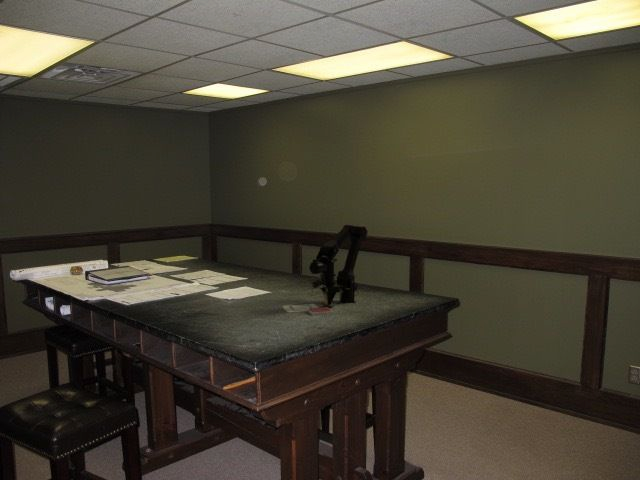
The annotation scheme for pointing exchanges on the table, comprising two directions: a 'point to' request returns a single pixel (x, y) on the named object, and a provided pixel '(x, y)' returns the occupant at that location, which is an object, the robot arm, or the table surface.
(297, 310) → the paper
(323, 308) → the ink pad
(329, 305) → the stamp
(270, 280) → the table surface
